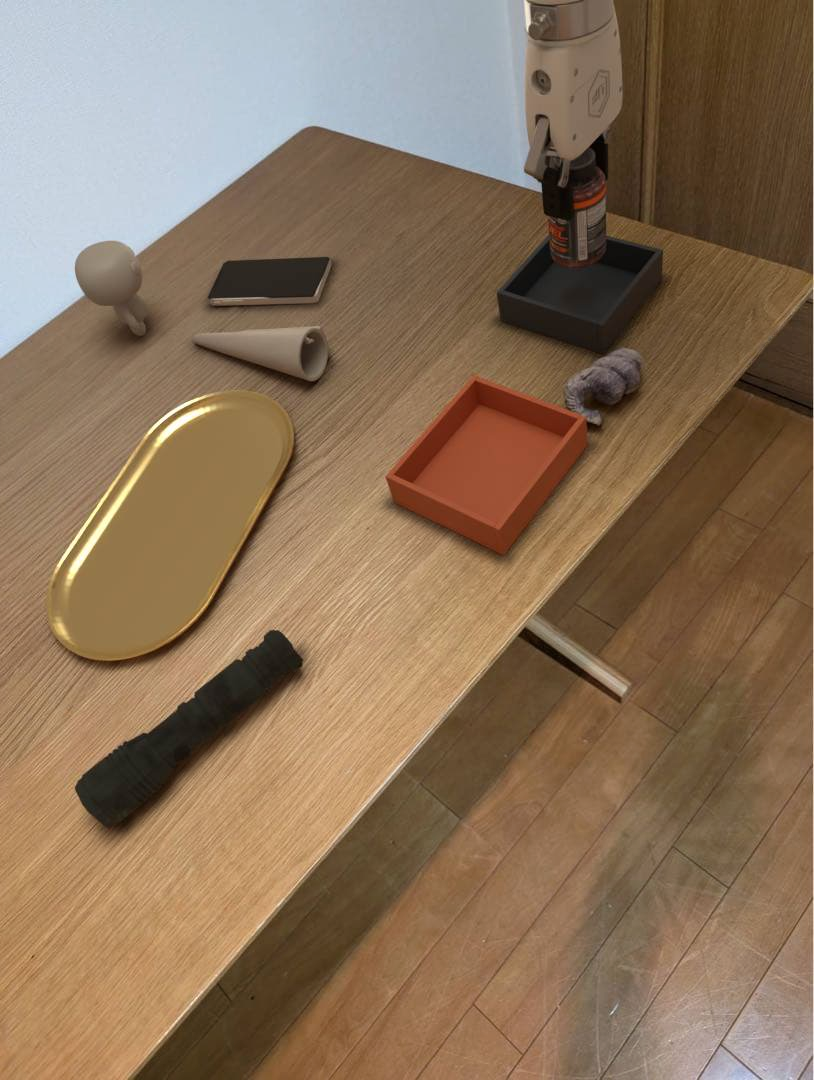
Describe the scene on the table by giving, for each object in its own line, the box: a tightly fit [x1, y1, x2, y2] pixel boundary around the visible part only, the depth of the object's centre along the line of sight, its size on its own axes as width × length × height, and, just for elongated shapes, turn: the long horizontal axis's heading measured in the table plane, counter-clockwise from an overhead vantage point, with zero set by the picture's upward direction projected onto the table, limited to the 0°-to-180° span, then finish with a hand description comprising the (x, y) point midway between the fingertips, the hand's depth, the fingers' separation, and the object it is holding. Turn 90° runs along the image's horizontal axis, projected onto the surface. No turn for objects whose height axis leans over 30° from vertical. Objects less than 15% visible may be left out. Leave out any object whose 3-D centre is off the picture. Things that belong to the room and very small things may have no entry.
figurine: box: [74, 240, 148, 337], centre depth 106 cm, size 8×8×12 cm
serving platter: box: [45, 389, 295, 662], centre depth 89 cm, size 19×35×2 cm, turn 159°
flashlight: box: [74, 629, 304, 829], centre depth 72 cm, size 5×21×5 cm, turn 130°
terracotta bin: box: [385, 374, 589, 556], centre depth 83 cm, size 13×15×4 cm
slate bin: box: [496, 234, 664, 355], centre depth 95 cm, size 13×13×4 cm
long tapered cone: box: [191, 325, 331, 382], centre depth 100 cm, size 6×6×19 cm
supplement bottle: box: [547, 147, 607, 268], centre depth 87 cm, size 6×6×11 cm
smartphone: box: [207, 256, 332, 307], centre depth 110 cm, size 8×1×15 cm
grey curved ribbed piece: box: [562, 346, 645, 427], centre depth 86 cm, size 5×5×10 cm
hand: (576, 196), depth 86 cm, fingers closed on supplement bottle, 5 cm apart
